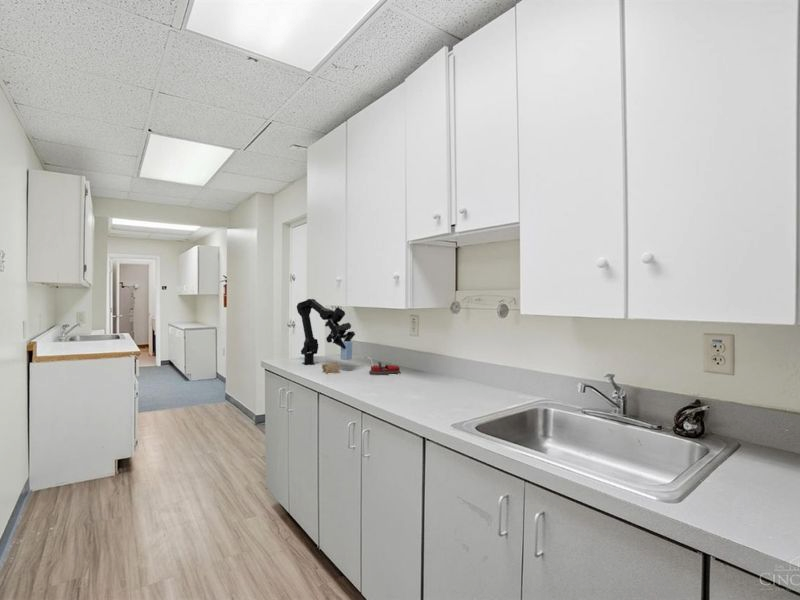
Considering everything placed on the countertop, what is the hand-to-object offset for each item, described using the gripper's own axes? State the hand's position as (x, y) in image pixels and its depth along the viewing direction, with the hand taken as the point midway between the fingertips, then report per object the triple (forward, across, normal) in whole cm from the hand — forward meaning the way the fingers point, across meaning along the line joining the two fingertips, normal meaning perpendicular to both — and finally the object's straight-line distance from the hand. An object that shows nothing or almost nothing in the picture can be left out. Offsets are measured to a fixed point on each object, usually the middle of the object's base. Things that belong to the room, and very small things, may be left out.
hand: (348, 348), depth 240 cm
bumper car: (+23, +9, -3) cm, 25 cm away
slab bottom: (+7, -9, +13) cm, 17 cm away
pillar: (+4, 0, +6) cm, 7 cm away
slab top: (+5, -9, +11) cm, 15 cm away
